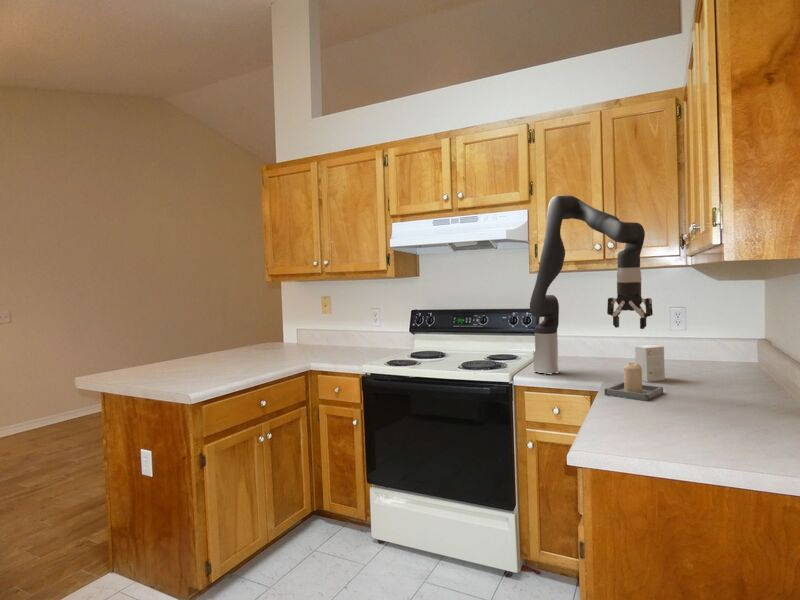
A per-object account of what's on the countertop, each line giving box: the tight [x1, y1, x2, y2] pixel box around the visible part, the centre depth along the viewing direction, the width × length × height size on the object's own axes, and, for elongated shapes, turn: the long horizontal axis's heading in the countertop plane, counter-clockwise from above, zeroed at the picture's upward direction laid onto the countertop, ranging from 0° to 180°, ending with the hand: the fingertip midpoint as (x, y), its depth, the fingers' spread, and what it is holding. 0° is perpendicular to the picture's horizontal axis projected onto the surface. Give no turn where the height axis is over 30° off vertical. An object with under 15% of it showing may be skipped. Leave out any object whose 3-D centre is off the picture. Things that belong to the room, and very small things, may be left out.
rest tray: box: [603, 381, 664, 402], centre depth 166 cm, size 14×14×2 cm
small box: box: [634, 344, 666, 383], centre depth 187 cm, size 8×6×13 cm
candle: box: [623, 362, 643, 393], centre depth 166 cm, size 6×6×10 cm
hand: (629, 328), depth 167 cm, fingers open, 8 cm apart
